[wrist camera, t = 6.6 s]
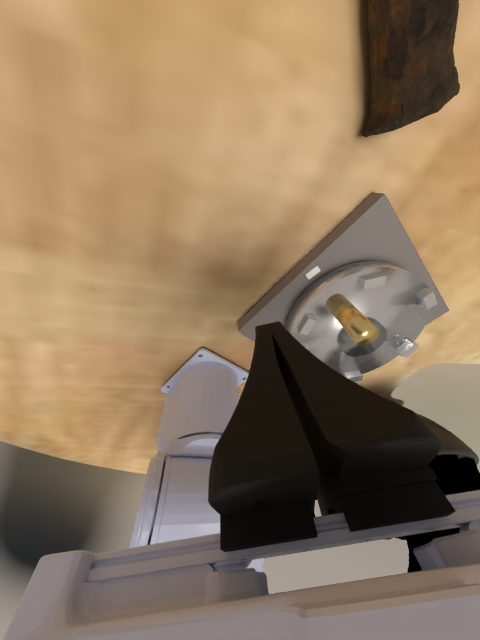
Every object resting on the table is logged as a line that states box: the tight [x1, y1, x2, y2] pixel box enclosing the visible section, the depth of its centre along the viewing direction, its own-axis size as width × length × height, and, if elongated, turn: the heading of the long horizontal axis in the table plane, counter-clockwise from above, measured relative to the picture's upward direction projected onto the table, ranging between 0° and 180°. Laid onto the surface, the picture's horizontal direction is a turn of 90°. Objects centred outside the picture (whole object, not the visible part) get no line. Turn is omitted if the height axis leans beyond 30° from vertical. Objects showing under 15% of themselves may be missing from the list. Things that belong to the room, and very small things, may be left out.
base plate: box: [237, 192, 449, 341], centre depth 22 cm, size 16×16×2 cm
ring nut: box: [286, 260, 437, 382], centre depth 19 cm, size 13×13×6 cm
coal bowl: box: [387, 413, 480, 573], centre depth 29 cm, size 20×20×19 cm
